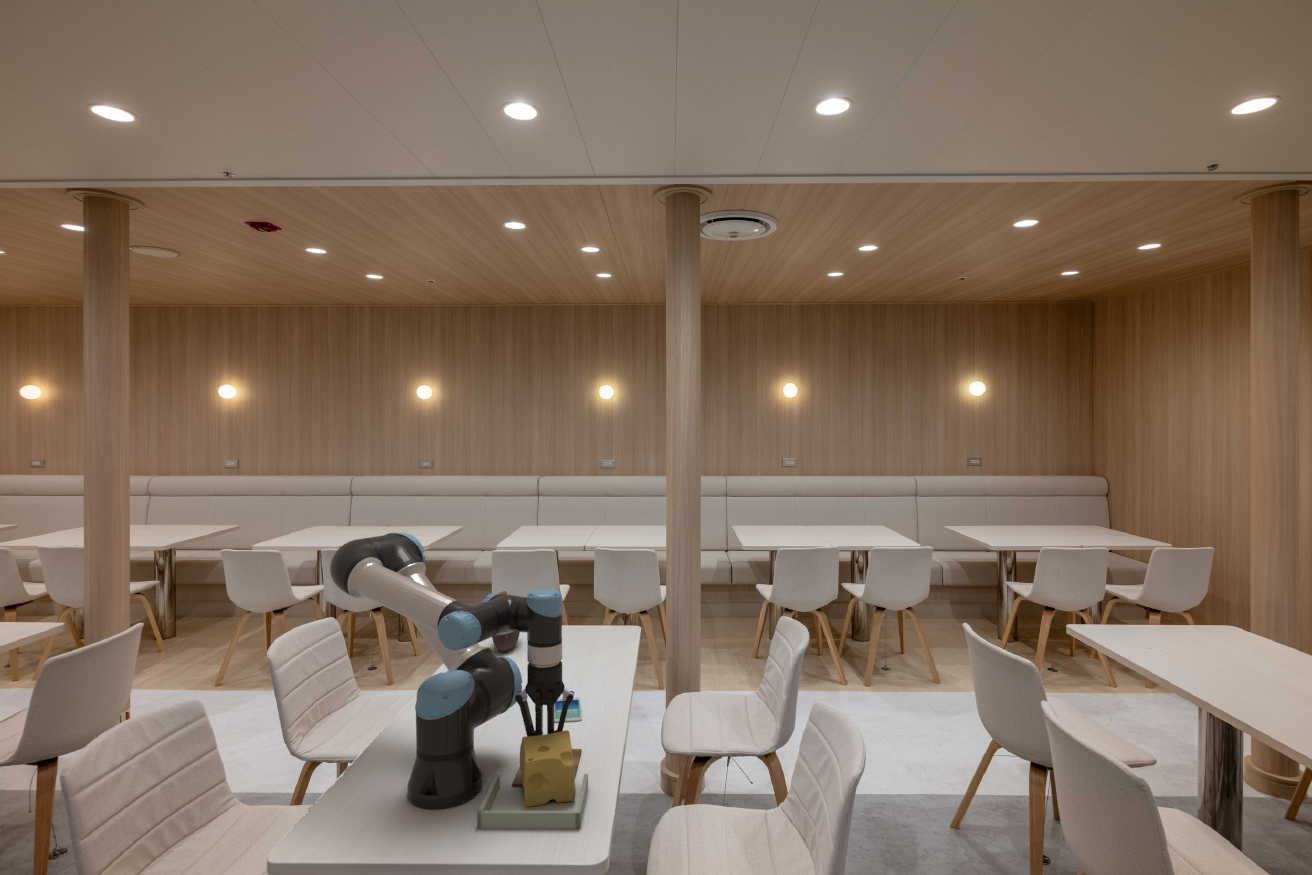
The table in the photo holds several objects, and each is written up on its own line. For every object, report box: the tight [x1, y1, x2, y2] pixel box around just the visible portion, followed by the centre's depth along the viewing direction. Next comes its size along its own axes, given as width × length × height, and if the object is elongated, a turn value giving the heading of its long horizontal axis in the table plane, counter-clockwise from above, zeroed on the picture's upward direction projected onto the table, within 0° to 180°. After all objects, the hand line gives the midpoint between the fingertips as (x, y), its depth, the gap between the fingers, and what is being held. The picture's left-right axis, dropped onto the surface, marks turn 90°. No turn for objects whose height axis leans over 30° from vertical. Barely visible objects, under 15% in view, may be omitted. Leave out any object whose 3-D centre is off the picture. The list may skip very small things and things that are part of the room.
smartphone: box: [554, 697, 583, 724], centre depth 184 cm, size 7×1×15 cm
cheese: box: [519, 730, 577, 808], centre depth 141 cm, size 10×11×10 cm
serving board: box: [511, 748, 583, 788], centre depth 152 cm, size 16×13×1 cm
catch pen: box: [476, 773, 589, 830], centre depth 136 cm, size 15×20×3 cm
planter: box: [491, 590, 521, 653], centre depth 237 cm, size 15×17×20 cm
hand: (545, 768), depth 148 cm, fingers closed
